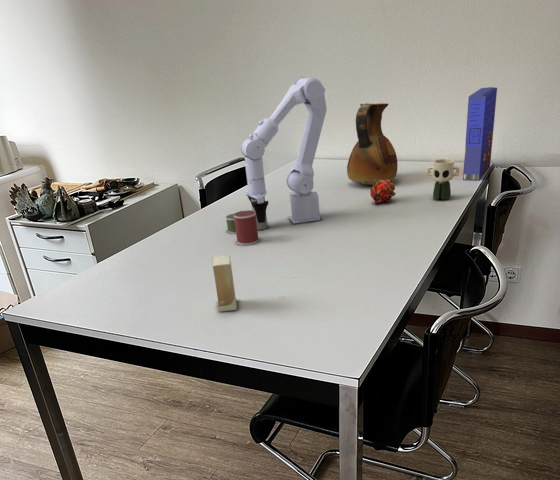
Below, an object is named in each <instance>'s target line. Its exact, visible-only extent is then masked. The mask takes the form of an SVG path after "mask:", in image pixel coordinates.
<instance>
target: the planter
mask: <svg viewBox="0 0 560 480" xmlns="http://www.w3.org/2000/svg"><path fill="white" fill-rule="evenodd" d="M265 197H266V196H265ZM265 197H264V198H263V199H264V201H266V198H265ZM254 201H257V199H255V198H253V197H252V198H251V202H254ZM251 202H250V203H251ZM251 211H255V210H254V208H253V206H252V205H251ZM256 223H257V231H262V230H266V229H268V226H269V225H268V218H267V215H266V216H265V222H263V223H258V220H257V217H256Z"/></svg>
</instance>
